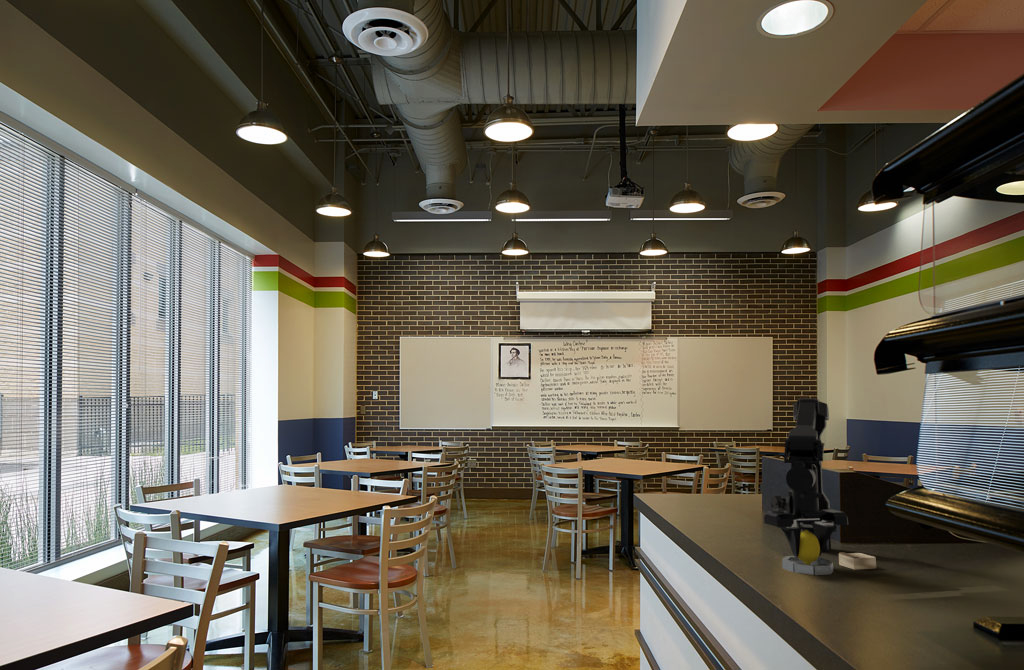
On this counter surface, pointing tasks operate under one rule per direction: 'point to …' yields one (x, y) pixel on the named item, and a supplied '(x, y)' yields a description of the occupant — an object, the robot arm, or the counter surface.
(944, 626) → the counter surface
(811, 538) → the lemon
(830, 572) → the ring
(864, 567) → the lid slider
